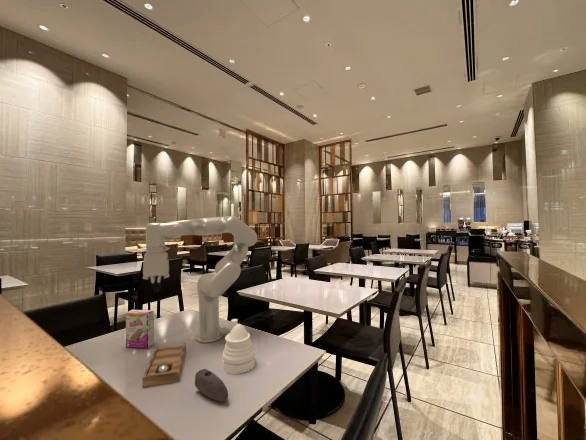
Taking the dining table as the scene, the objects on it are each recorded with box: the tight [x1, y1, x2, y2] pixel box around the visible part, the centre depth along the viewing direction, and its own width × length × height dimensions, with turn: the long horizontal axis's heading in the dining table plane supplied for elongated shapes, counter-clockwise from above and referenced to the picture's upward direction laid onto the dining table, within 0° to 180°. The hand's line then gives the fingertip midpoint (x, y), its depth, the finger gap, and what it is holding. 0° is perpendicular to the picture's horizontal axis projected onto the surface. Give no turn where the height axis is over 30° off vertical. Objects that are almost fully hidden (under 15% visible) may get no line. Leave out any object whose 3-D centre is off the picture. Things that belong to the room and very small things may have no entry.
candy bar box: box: [124, 309, 155, 349], centre depth 129 cm, size 11×5×16 cm, turn 84°
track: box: [142, 342, 187, 388], centre depth 111 cm, size 24×12×4 cm, turn 16°
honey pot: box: [221, 318, 256, 375], centre depth 112 cm, size 13×13×18 cm
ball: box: [157, 365, 170, 373], centre depth 105 cm, size 4×4×4 cm
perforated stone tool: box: [194, 368, 229, 403], centre depth 93 cm, size 15×5×7 cm, turn 51°
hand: (156, 291), depth 123 cm, fingers closed
